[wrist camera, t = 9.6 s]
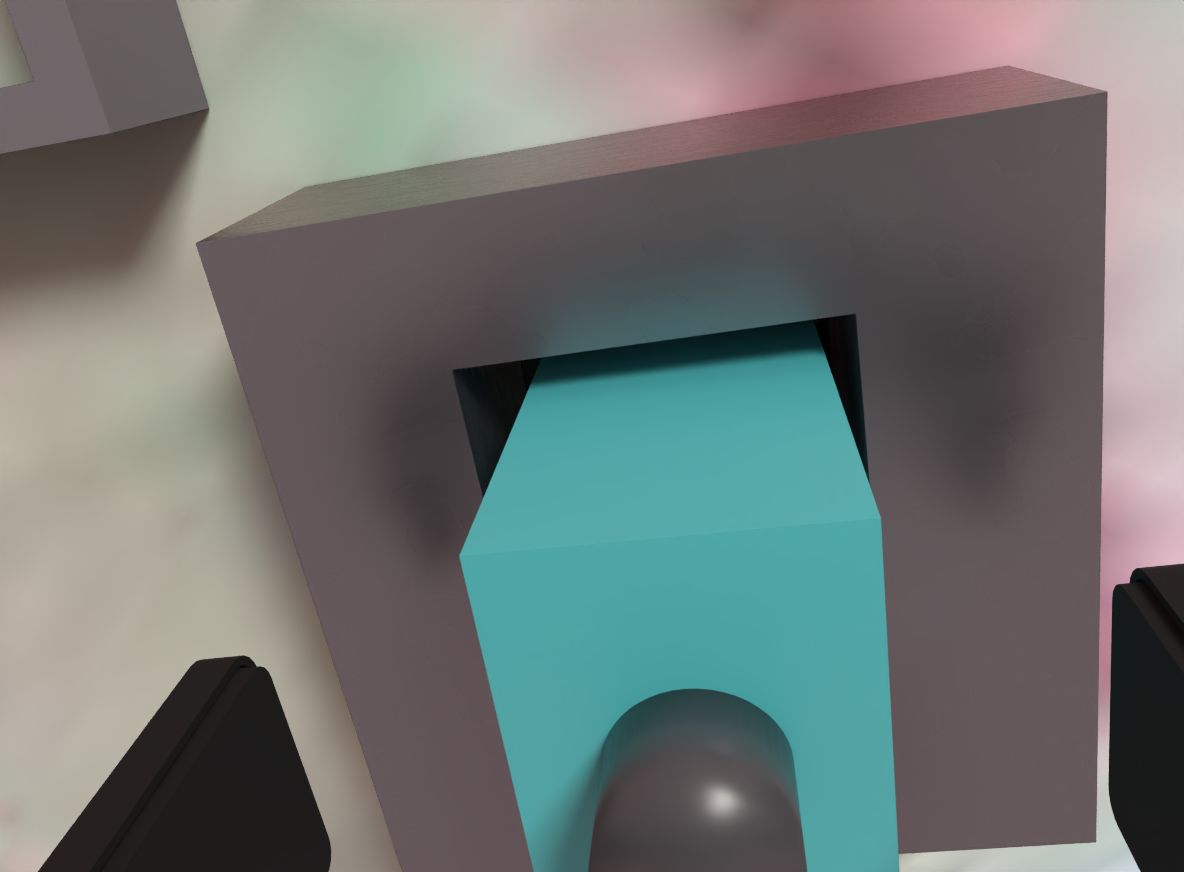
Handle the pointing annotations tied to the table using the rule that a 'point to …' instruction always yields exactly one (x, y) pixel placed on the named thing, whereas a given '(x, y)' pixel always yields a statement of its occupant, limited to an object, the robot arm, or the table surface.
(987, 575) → the port
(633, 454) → the plug
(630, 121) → the table surface
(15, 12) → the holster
